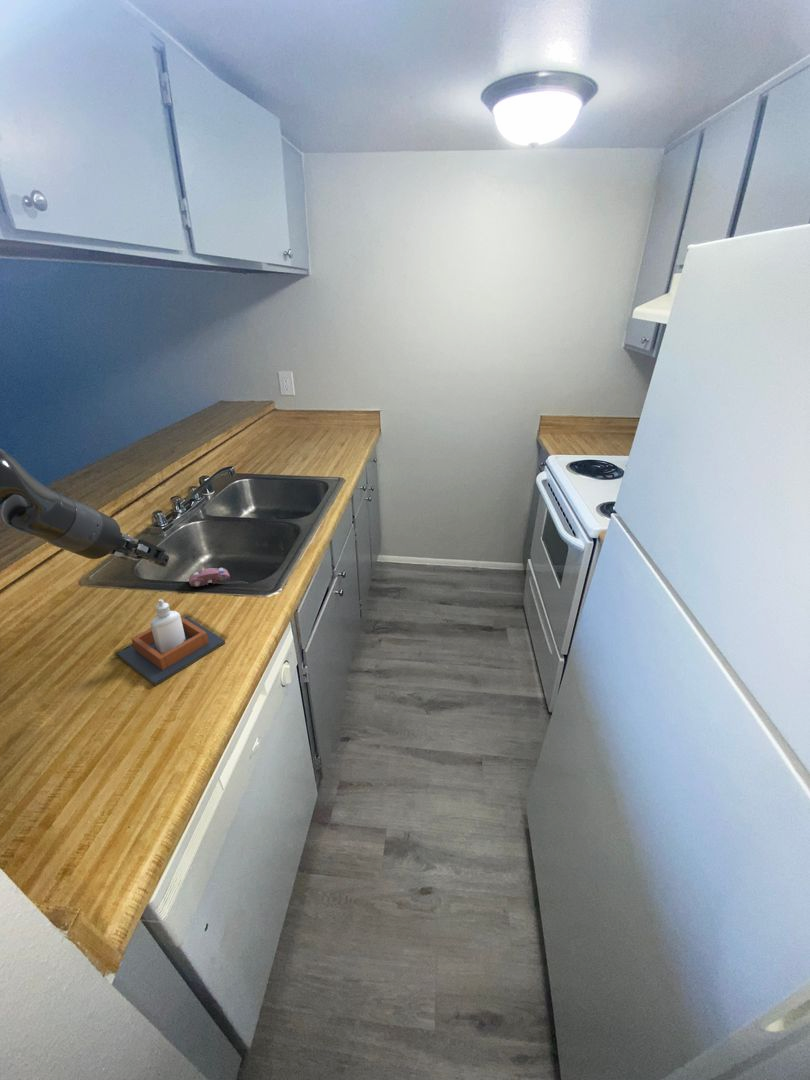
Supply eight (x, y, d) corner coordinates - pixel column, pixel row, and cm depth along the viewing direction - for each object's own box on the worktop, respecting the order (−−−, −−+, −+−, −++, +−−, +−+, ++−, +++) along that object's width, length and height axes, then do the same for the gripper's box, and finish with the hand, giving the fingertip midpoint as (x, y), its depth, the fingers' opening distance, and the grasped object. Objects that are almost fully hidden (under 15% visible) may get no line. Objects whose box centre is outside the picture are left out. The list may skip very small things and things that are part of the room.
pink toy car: (191, 596, 121) (187, 581, 116) (189, 581, 123) (185, 566, 118) (231, 588, 125) (230, 574, 119) (229, 574, 127) (227, 559, 122)
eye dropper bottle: (186, 650, 99) (175, 603, 94) (156, 656, 97) (144, 608, 92) (186, 637, 103) (176, 591, 97) (157, 643, 101) (145, 596, 95)
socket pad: (155, 686, 91) (151, 670, 89) (117, 656, 98) (112, 641, 96) (225, 643, 103) (222, 628, 101) (187, 619, 110) (184, 605, 108)
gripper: (126, 513, 74) (186, 545, 89) (52, 500, 77) (122, 533, 92) (107, 558, 72) (172, 583, 87) (32, 543, 74) (107, 570, 90)
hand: (146, 558), depth 89 cm, fingers open, 8 cm apart
